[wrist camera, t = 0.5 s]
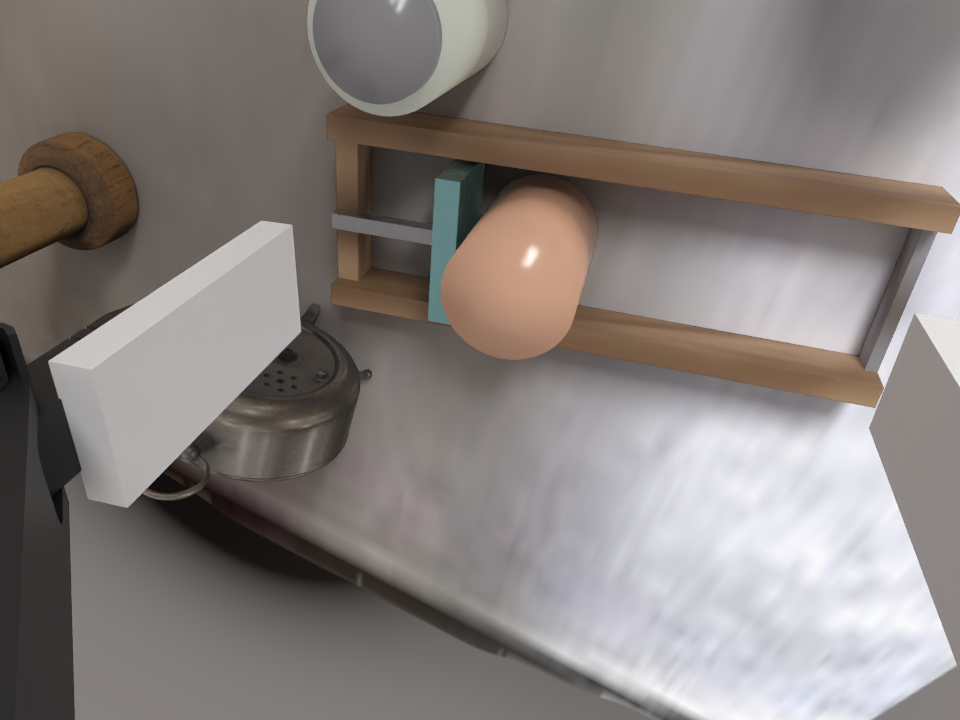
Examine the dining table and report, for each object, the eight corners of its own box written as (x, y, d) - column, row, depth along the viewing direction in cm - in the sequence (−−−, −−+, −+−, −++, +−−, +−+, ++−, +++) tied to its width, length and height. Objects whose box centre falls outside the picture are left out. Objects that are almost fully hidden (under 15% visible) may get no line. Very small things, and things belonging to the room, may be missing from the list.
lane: (350, 103, 38) (326, 114, 36) (942, 187, 34) (963, 207, 31) (352, 282, 44) (331, 303, 41) (862, 377, 39) (875, 407, 36)
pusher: (354, 135, 39) (313, 159, 34) (485, 154, 37) (460, 182, 33) (355, 263, 42) (318, 299, 38) (474, 285, 41) (450, 324, 37)
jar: (389, -65, 34) (293, -66, 26) (514, -52, 33) (457, -49, 25) (387, 71, 37) (301, 109, 29) (501, 86, 36) (447, 130, 28)
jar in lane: (492, 166, 38) (444, 222, 31) (606, 183, 37) (586, 246, 30) (483, 271, 41) (437, 346, 34) (588, 290, 40) (565, 371, 33)
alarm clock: (227, 333, 48) (43, 491, 34) (236, 263, 45) (40, 403, 31) (380, 396, 47) (255, 581, 34) (399, 329, 45) (272, 502, 31)
